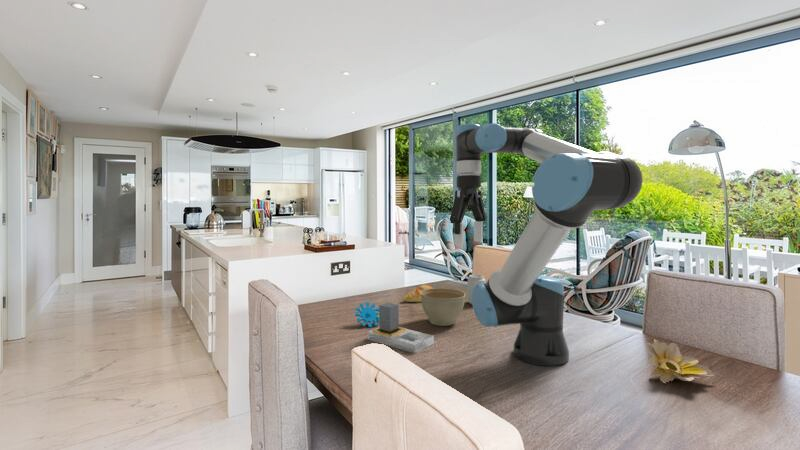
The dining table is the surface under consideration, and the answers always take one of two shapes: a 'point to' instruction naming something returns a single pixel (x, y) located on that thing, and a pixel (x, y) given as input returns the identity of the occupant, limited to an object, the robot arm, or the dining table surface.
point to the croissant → (416, 294)
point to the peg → (389, 318)
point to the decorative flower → (674, 363)
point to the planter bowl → (442, 305)
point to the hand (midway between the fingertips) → (468, 243)
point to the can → (473, 284)
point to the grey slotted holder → (402, 339)
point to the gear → (368, 314)
